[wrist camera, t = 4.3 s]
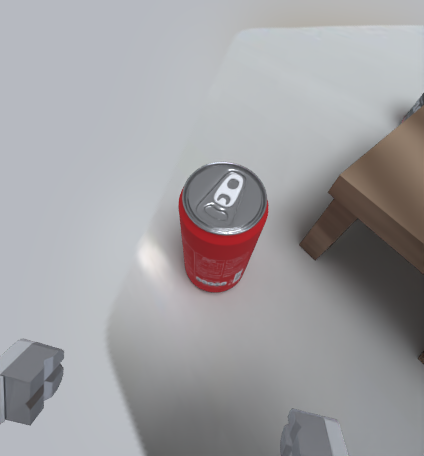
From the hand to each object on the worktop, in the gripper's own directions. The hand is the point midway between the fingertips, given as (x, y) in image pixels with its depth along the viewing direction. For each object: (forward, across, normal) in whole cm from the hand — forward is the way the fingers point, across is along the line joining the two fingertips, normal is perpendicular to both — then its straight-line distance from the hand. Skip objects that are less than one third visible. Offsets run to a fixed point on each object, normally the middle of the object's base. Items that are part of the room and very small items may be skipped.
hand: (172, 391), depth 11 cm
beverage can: (+17, 0, +3) cm, 18 cm away
